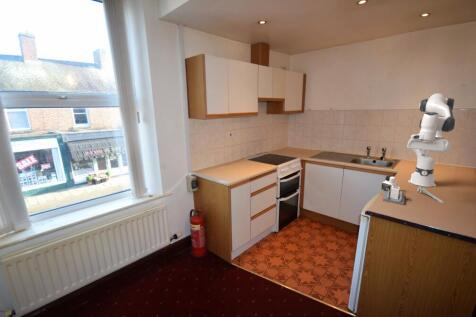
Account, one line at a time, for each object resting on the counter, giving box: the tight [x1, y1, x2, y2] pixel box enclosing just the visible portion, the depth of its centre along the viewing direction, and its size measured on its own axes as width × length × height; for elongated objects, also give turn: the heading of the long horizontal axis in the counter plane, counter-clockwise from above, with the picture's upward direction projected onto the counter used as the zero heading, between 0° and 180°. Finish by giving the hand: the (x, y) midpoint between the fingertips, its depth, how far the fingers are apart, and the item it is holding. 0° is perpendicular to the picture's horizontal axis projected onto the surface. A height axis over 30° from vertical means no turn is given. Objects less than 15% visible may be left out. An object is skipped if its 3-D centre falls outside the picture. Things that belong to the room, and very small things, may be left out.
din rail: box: [386, 189, 403, 202], centre depth 162 cm, size 18×8×2 cm, turn 144°
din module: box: [390, 185, 400, 199], centre depth 161 cm, size 8×4×7 cm, turn 144°
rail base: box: [382, 191, 405, 206], centre depth 162 cm, size 18×12×2 cm, turn 144°
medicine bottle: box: [380, 175, 398, 192], centre depth 175 cm, size 7×7×12 cm
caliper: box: [417, 185, 445, 204], centre depth 164 cm, size 20×1×6 cm, turn 5°
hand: (423, 156), depth 158 cm, fingers closed
